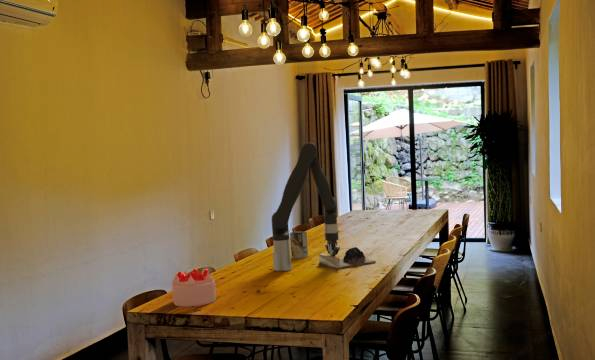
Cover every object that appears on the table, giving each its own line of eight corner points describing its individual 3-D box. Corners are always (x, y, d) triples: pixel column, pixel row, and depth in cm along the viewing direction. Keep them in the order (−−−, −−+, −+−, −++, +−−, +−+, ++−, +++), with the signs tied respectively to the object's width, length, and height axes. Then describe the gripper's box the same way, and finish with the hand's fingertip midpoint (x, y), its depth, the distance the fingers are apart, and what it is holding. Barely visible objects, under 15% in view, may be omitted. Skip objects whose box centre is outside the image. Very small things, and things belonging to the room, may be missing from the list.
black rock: (350, 261, 360) (347, 244, 359) (371, 259, 352) (368, 243, 352) (340, 267, 349) (337, 250, 348) (361, 266, 341) (358, 248, 341)
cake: (218, 295, 293) (216, 266, 292) (213, 305, 273) (211, 274, 272) (177, 298, 292) (175, 269, 292) (170, 309, 272) (167, 277, 272)
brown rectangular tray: (356, 258, 364) (356, 248, 364) (375, 262, 346) (375, 252, 346) (318, 264, 352) (318, 254, 352) (336, 269, 334) (335, 258, 334)
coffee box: (308, 256, 382) (307, 231, 381) (304, 258, 377) (302, 232, 376) (295, 256, 386) (294, 231, 386) (291, 258, 381) (289, 232, 380)
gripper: (319, 231, 349) (321, 261, 349) (331, 233, 337) (333, 264, 338) (331, 229, 352) (333, 259, 353) (343, 231, 340) (345, 262, 341)
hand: (333, 261), depth 345 cm, fingers closed
